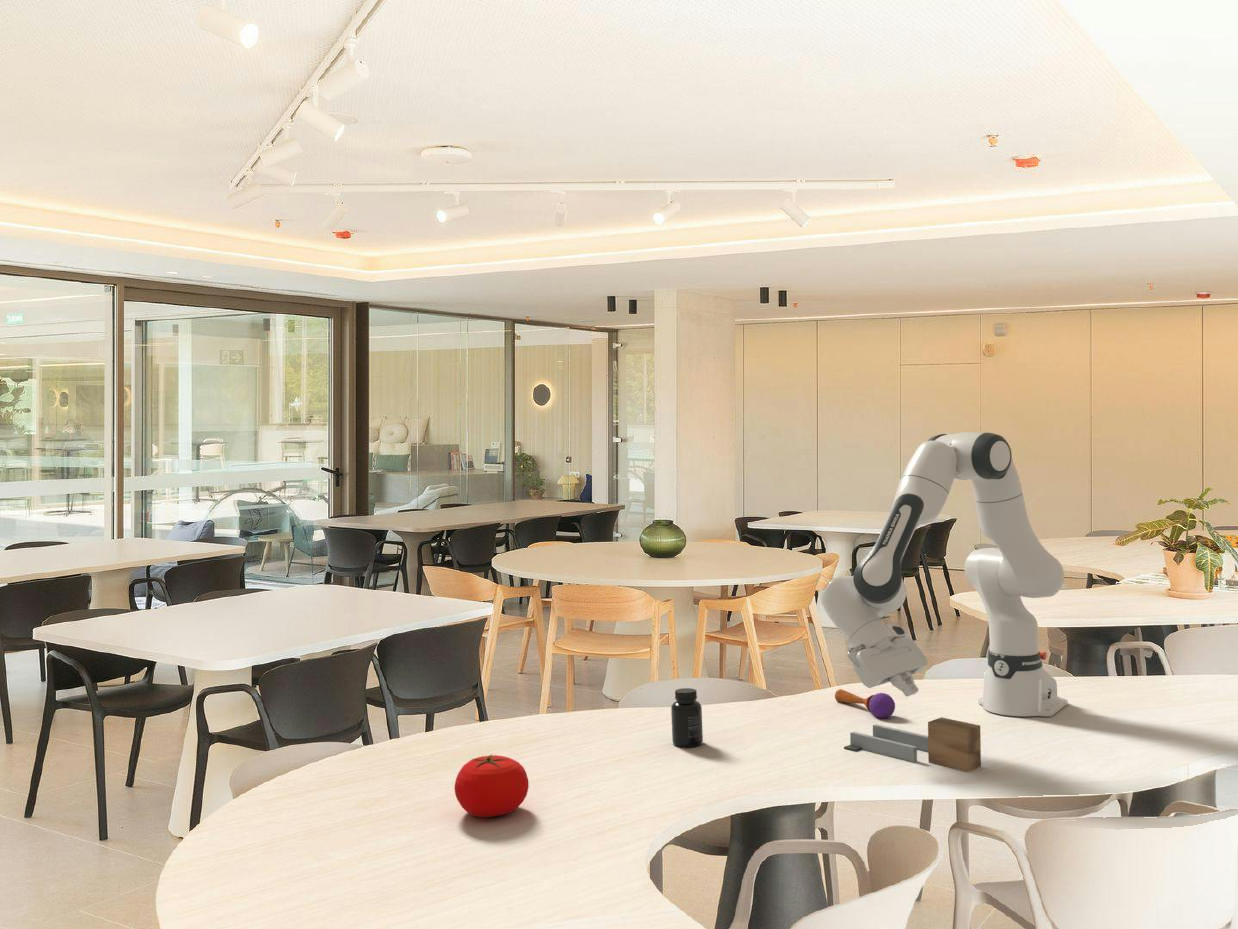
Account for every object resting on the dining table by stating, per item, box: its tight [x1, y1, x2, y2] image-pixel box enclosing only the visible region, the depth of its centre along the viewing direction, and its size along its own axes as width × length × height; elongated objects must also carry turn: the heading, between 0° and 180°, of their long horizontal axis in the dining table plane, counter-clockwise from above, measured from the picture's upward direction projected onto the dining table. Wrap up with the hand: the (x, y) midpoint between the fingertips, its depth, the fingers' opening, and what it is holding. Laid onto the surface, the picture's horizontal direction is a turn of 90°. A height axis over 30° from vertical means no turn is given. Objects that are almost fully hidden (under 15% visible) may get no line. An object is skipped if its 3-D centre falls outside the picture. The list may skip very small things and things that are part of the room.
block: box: [927, 717, 982, 773], centre depth 222 cm, size 5×9×8 cm, turn 41°
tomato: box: [453, 754, 530, 818], centre depth 201 cm, size 14×13×10 cm
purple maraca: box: [834, 688, 896, 719], centre depth 266 cm, size 6×6×20 cm
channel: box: [843, 723, 928, 763], centre depth 233 cm, size 14×16×3 cm
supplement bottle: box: [670, 687, 704, 748], centre depth 241 cm, size 7×7×12 cm
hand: (913, 693), depth 230 cm, fingers closed
